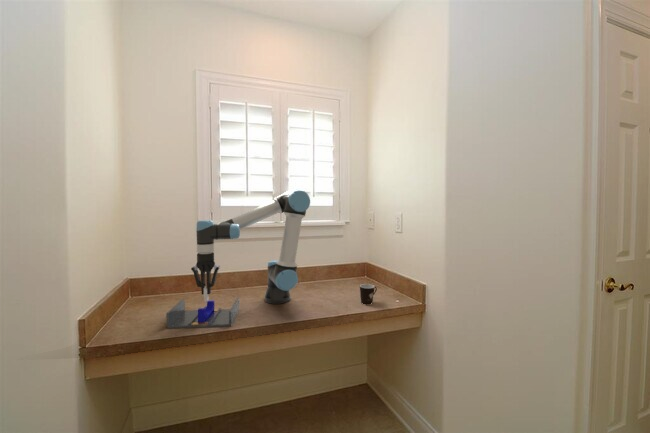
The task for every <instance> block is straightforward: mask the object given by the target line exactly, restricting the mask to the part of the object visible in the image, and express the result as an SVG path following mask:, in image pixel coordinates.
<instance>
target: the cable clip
mask: <svg viewBox="0 0 650 433" xmlns="http://www.w3.org/2000/svg"><path fill="white" fill-rule="evenodd" d="M197 310H198V322H205V321H206V320H207V319H208V318H209V317H210V316H211V315H212V314H213V313H214V310H215V300H208V301H207V302H206V306H204V307H203V308H201V307H200V308H198V309H197Z"/></svg>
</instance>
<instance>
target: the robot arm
mask: <svg viewBox="0 0 650 433" xmlns="http://www.w3.org/2000/svg"><path fill="white" fill-rule="evenodd" d="M310 205H311V198H310V195H309V194H308V193H307V191H305V190H303V189H293V190H292V189H291V190H287V191H286V192H283V193H282V194H280V195H278V196H276V197H274V198H273V200H271V201H268V202H267V203H265V204H262V205H259V206H258V207H254V208H253V209H250V210H248V211H246V212H244V213H241V214H239V215H237V216H234V217H232V218H230V219H227V220H225V221H221V222H219V224H217V223H214V220H211V219H207V220H205V219H204V220H202V219H201V220H198V221H197V222H196V253H197V254H196V264H195V266H193V267H191V268H190V269H191V271H192V272H193V275H194V278H195V279H194V280H195V283H196V286H197V288H201V295H203V302H204V303H207V301H210V297H209V295H210V294H211V293H212V290H211V288H212V287H214V286H215V285H216V280H217V276H218V272H219V269H220V268H221V266H220V265H217V264H216V262H215V240H217V241H218V240H236V239H239V238H240V237H241V236H240V235H241V233H240V232H241V230H243V229H245V228H247V227H250V226H252V225H254V224H257V223H258V222H262V221H263V220H266V219H267V218H270V217H272V216H274V215H277V214H282V213H283V214H284V215H285V216H286V217H285V222H284V229H283V234H282V235H283V236H282V242H281V248H280V253H279V259H277V260H270V261H268V262H267V287H266V290H265V293H264V302H265V303H268V304H270V305H271V304H273V305H280V304H285V303H288V302H290V301H291V292H290V290H292V289H294V288H295V287H296V286H297V285H298V282H299V277H298V276H299V275H298V274H297V270H298V264H297V263H296V260H297V252H298V246H299V245H298V244H299V241H300V240H299V239H300V233H301V228H302V227H301V226H302V222H303V221H302V220H303V219H304V218H305V217H306V213H307V210H308V209H309V208H310ZM198 270H199V271H200V274H199V271H198ZM212 270H213V274H211V273H212ZM211 276H212V277H211Z"/></svg>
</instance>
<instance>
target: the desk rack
mask: <svg viewBox="0 0 650 433" xmlns="http://www.w3.org/2000/svg"><path fill="white" fill-rule="evenodd" d="M239 311H240V297H236V299H235V300H234V302H233V304H232V306H231V307H230V308H229V309H227V308H225V309H222V307H219V308H218V309H214V313H213V314H212V315H211V316H210V317H209V318H208V319H207V320H206V321H205V322H198V309H192V310H191V309H189V310H188V309H187V310H186V299H185V298H182V299H181V300H180V301H178V302H177V303H176V304H175V305H174V306H173V307H171V308H170V309H169V310H168V311H167V312H166V313H165V314H166V329H185V328H187V329H188V328H219V327H221V328H222V327H232V325H233V324H234V322H235V320H236V318H237V316H238V314H239Z"/></svg>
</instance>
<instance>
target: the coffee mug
mask: <svg viewBox="0 0 650 433" xmlns="http://www.w3.org/2000/svg"><path fill="white" fill-rule="evenodd" d="M377 290H378V289H377V286H376V285H373V284H372V283H371V284H370V283H362V284H360V285H359V292H360V294H359V295H360V303H361V304H362V303H363V304H371V303H372V304H373V301H374V296H375V294H376V292H377ZM363 304H362V305H363Z"/></svg>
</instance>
